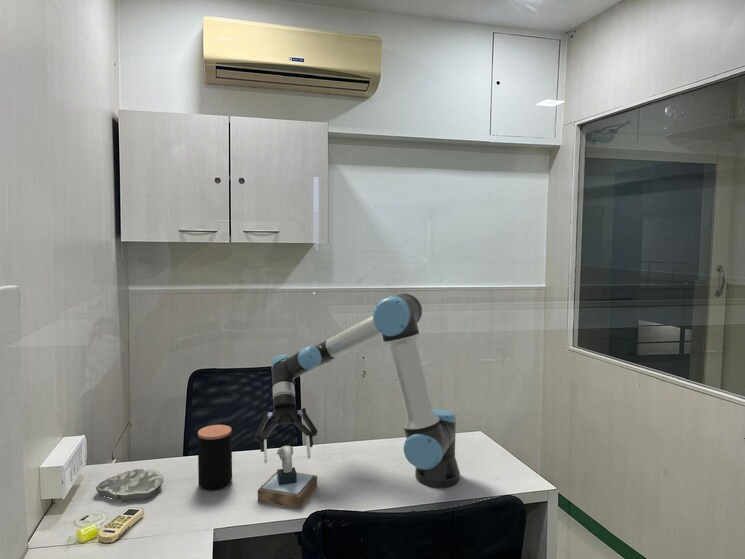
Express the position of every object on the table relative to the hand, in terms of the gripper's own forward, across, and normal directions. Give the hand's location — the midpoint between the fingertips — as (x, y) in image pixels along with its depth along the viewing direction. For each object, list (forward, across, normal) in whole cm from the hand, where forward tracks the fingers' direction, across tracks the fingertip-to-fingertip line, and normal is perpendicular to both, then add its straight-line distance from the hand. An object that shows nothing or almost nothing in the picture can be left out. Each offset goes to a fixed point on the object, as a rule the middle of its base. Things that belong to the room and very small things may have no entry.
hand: (287, 459), depth 152 cm
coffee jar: (-1, +23, -17) cm, 29 cm away
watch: (+5, 0, -6) cm, 8 cm away
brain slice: (-2, +48, -19) cm, 52 cm away
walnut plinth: (+8, 0, -8) cm, 12 cm away
